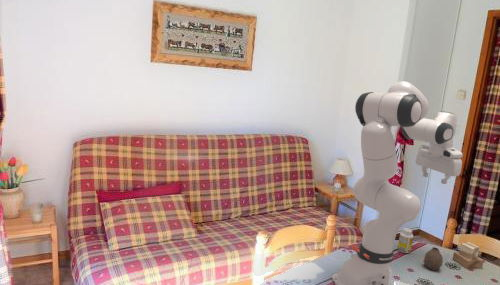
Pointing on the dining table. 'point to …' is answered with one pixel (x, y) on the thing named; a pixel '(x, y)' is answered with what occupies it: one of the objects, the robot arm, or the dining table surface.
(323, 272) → the dining table surface
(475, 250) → the maple cube
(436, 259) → the vase
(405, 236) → the supplement bottle
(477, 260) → the walnut block
